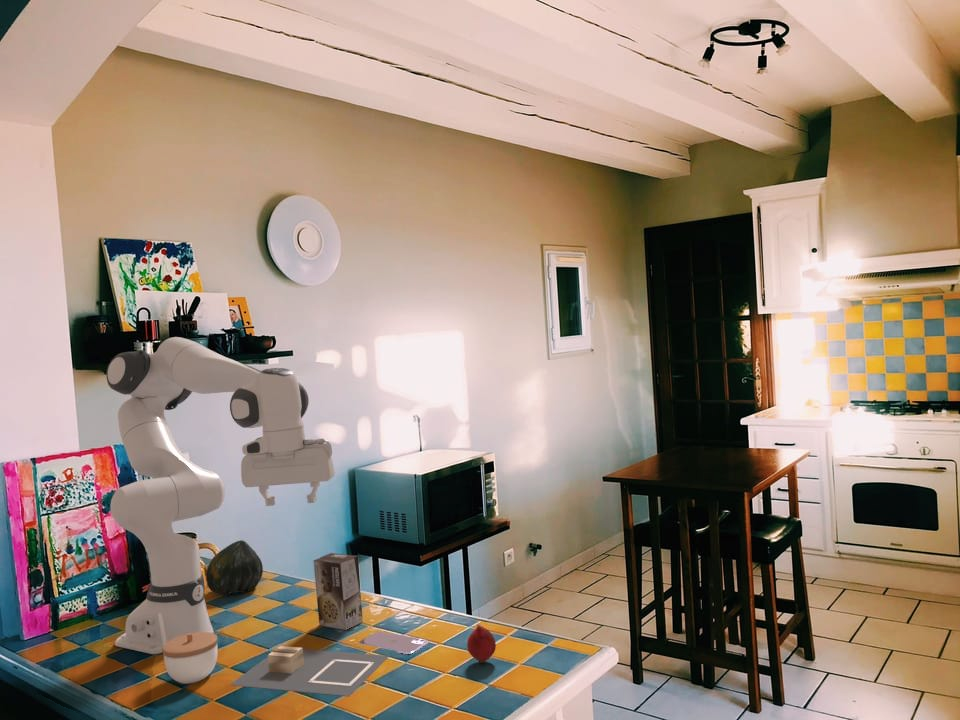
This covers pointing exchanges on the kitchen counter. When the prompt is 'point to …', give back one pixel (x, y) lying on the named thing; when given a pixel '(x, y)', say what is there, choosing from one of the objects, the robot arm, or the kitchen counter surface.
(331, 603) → the coffee box
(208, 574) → the squash
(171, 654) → the lidded jar
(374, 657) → the rubber mat
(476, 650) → the onion
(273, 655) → the taped cardboard box
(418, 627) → the kitchen counter surface
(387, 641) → the mobile phone
